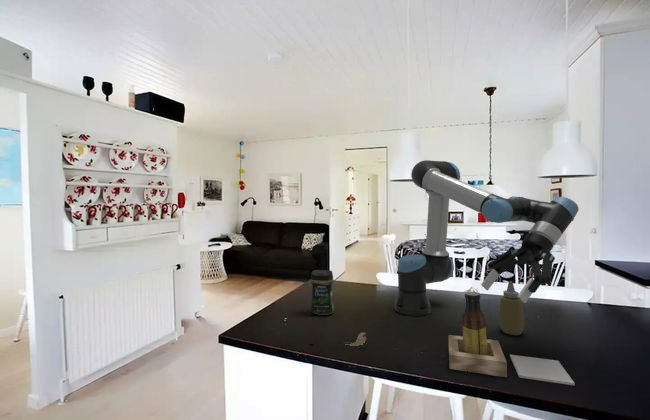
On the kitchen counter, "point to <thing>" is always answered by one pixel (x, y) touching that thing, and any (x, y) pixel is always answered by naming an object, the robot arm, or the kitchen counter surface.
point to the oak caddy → (477, 358)
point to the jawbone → (359, 340)
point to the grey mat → (541, 369)
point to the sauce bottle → (474, 326)
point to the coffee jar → (322, 292)
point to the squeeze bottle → (511, 312)
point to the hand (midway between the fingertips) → (501, 293)
